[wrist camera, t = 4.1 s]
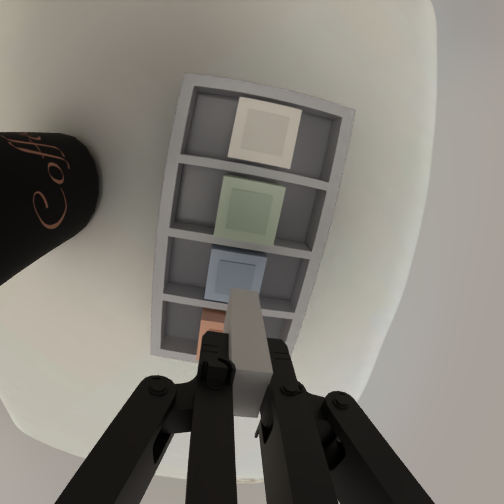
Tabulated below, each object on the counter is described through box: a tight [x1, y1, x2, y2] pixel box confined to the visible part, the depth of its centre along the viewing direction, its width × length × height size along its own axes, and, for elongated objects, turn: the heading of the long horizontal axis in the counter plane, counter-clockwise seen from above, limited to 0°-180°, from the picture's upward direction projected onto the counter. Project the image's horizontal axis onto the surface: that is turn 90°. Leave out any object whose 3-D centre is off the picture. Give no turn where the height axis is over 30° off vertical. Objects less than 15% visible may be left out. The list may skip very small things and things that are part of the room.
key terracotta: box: [196, 307, 226, 361], centre depth 26 cm, size 5×5×3 cm
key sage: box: [213, 174, 286, 246], centre depth 23 cm, size 5×5×3 cm
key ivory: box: [228, 97, 302, 169], centre depth 21 cm, size 5×5×2 cm
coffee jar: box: [0, 132, 99, 286], centre depth 16 cm, size 11×11×18 cm
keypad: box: [151, 73, 355, 363], centre depth 26 cm, size 26×14×3 cm, turn 169°
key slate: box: [204, 244, 267, 302], centre depth 26 cm, size 5×5×2 cm
